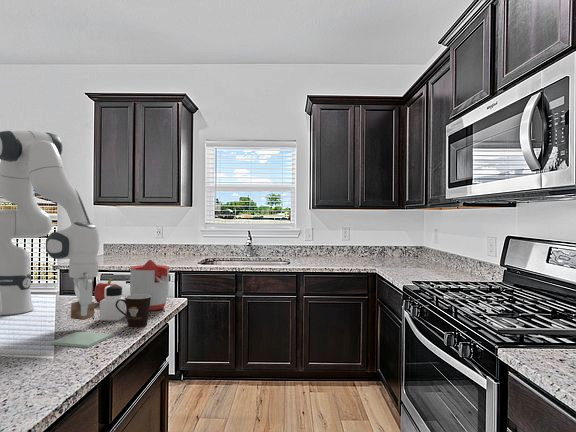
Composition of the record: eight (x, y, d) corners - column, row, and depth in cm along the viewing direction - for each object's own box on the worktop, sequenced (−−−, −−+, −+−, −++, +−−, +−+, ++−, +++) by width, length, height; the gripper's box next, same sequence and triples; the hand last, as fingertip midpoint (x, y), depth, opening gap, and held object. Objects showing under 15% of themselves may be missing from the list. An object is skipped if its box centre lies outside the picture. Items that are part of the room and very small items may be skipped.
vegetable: (99, 300, 198) (100, 277, 198) (123, 300, 199) (124, 278, 199) (90, 305, 187) (90, 281, 187) (115, 306, 188) (116, 282, 188)
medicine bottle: (125, 316, 170) (126, 284, 170) (119, 320, 163) (119, 287, 163) (106, 316, 170) (107, 284, 170) (99, 320, 163) (99, 287, 163)
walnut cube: (70, 318, 149) (71, 303, 149) (81, 315, 154) (81, 300, 154) (83, 320, 148) (84, 304, 148) (93, 316, 153) (94, 301, 152)
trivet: (51, 344, 133) (51, 341, 133) (77, 334, 145) (77, 331, 145) (88, 347, 131) (88, 345, 131) (111, 336, 143) (111, 334, 142)
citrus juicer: (147, 315, 173) (148, 263, 172) (121, 308, 183) (122, 259, 183) (179, 309, 185) (180, 260, 185) (153, 303, 196) (154, 256, 195)
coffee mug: (155, 324, 159) (156, 296, 159) (136, 329, 152) (136, 299, 152) (133, 319, 165) (133, 292, 165) (113, 324, 158) (113, 295, 158)
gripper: (97, 275, 143) (96, 318, 143) (90, 266, 161) (89, 304, 161) (75, 276, 140) (74, 320, 140) (71, 266, 158) (69, 306, 158)
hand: (82, 312), depth 151 cm, fingers closed on walnut cube, 7 cm apart
